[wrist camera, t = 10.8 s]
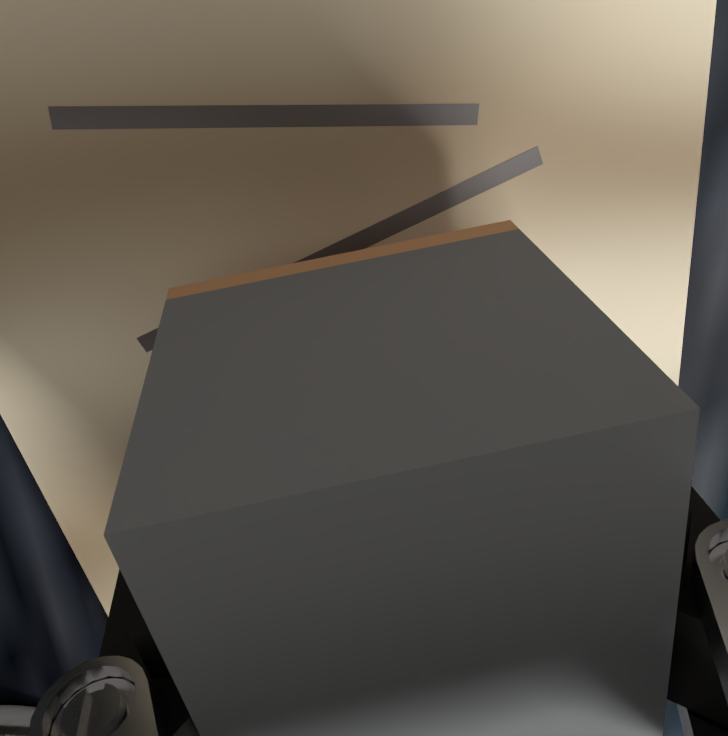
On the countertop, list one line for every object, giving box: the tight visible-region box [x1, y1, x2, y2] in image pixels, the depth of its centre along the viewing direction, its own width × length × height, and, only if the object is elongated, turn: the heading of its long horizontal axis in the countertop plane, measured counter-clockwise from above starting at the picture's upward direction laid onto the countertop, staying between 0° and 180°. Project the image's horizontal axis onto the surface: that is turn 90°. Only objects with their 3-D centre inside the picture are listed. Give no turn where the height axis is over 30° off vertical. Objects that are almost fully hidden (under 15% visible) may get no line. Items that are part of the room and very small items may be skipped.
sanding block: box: [104, 220, 700, 736], centre depth 10 cm, size 8×5×5 cm, turn 8°
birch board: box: [0, 0, 717, 617], centre depth 11 cm, size 22×12×2 cm, turn 8°
